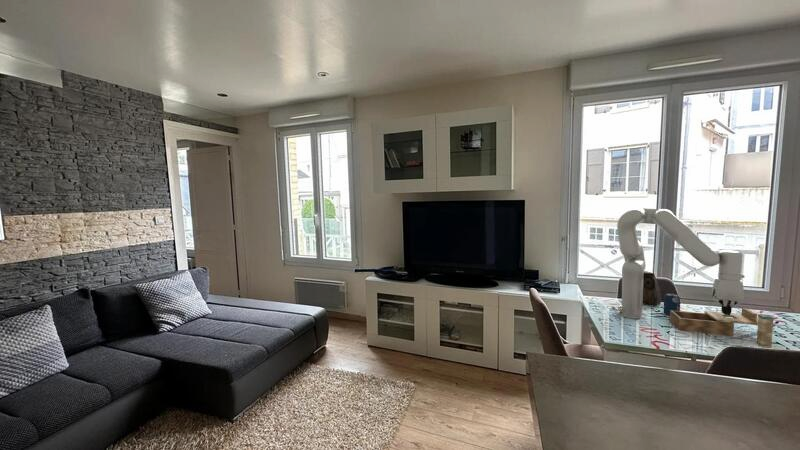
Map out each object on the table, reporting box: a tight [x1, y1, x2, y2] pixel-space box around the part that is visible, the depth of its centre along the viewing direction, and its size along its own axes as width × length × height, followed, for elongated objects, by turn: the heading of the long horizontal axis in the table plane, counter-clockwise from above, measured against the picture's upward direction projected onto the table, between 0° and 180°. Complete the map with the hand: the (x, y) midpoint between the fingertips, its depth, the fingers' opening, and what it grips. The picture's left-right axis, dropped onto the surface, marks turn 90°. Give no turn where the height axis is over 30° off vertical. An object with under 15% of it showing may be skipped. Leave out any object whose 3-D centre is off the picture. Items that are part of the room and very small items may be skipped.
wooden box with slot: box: [669, 310, 735, 337], centre depth 158 cm, size 20×12×7 cm, turn 68°
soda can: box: [663, 292, 681, 316], centre depth 177 cm, size 7×7×12 cm
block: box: [756, 313, 775, 349], centre depth 139 cm, size 4×4×14 cm
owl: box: [643, 270, 662, 307], centre depth 199 cm, size 13×13×20 cm
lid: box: [703, 308, 776, 328], centre depth 152 cm, size 20×12×4 cm, turn 68°
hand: (726, 313), depth 154 cm, fingers closed
